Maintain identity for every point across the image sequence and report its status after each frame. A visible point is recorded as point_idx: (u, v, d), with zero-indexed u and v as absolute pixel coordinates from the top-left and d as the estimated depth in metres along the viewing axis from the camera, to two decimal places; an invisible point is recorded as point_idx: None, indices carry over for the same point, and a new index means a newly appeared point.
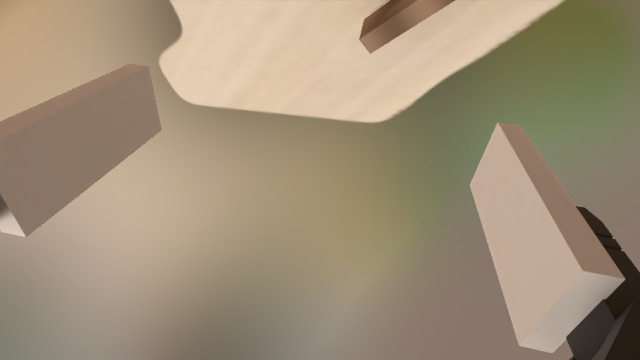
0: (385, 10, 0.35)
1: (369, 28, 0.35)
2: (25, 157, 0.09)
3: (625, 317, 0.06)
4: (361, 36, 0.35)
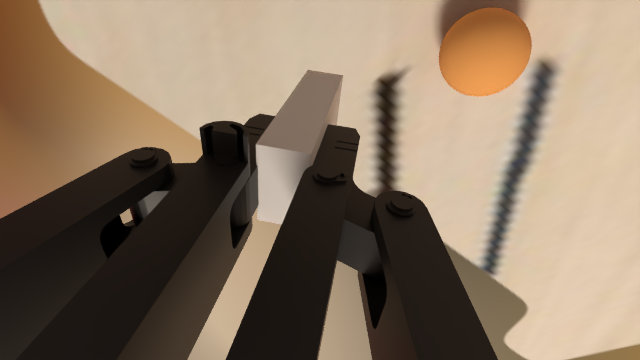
0: None
1: None
2: None
3: (297, 187, 0.08)
4: None
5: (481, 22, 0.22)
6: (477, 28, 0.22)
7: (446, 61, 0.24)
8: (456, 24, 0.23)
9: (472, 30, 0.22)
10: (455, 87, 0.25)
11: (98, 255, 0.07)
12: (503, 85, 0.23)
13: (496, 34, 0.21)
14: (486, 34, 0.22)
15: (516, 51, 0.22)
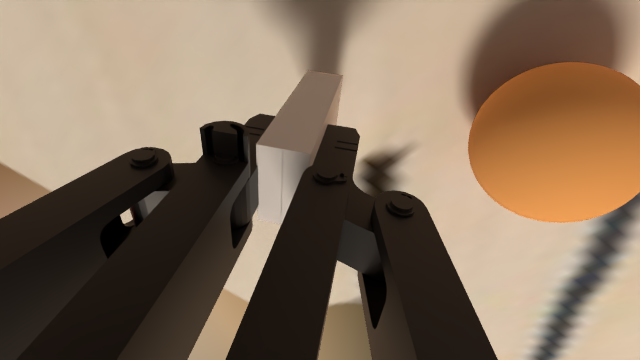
0: None
1: None
2: None
3: (297, 187, 0.08)
4: None
5: (566, 100, 0.10)
6: (557, 113, 0.10)
7: (486, 163, 0.12)
8: (506, 94, 0.12)
9: (546, 116, 0.11)
10: (500, 204, 0.13)
11: (98, 255, 0.07)
12: None
13: (602, 130, 0.10)
14: (579, 129, 0.10)
15: None
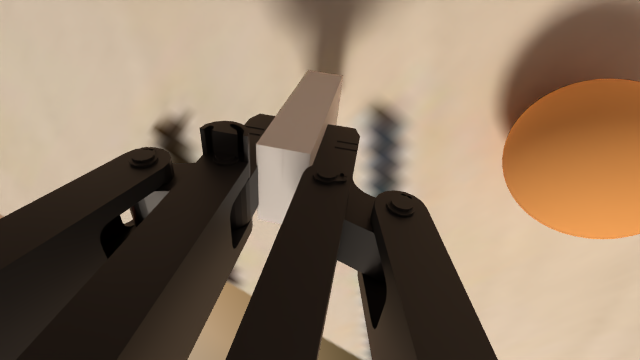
0: None
1: None
2: None
3: (297, 187, 0.08)
4: None
5: None
6: None
7: None
8: None
9: None
10: None
11: (98, 255, 0.07)
12: (510, 187, 0.14)
13: None
14: None
15: (521, 130, 0.13)
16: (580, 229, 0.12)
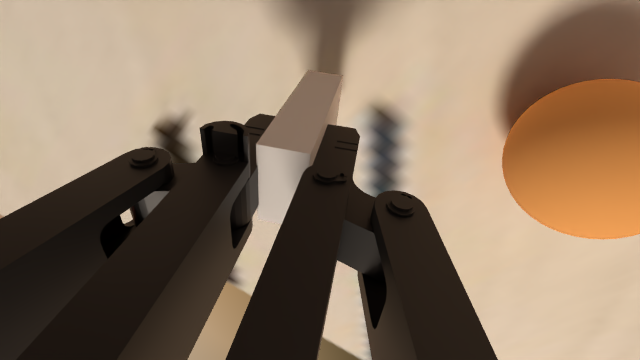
0: None
1: None
2: None
3: (297, 187, 0.08)
4: None
5: None
6: None
7: None
8: None
9: None
10: None
11: (98, 256, 0.07)
12: (510, 188, 0.14)
13: (537, 101, 0.13)
14: (540, 99, 0.14)
15: (521, 130, 0.13)
16: (580, 229, 0.12)
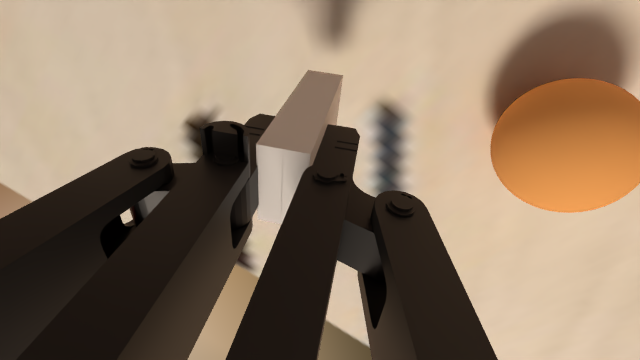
0: None
1: None
2: None
3: (297, 187, 0.08)
4: None
5: None
6: None
7: None
8: None
9: None
10: None
11: (98, 256, 0.07)
12: (496, 170, 0.16)
13: (519, 97, 0.16)
14: None
15: (505, 121, 0.15)
16: (553, 202, 0.14)
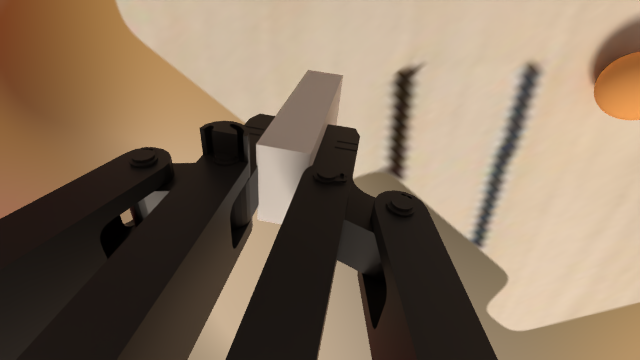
0: None
1: None
2: None
3: (297, 187, 0.08)
4: None
5: None
6: None
7: None
8: None
9: None
10: None
11: (98, 256, 0.07)
12: (600, 98, 0.31)
13: None
14: None
15: (609, 71, 0.30)
16: (633, 110, 0.29)
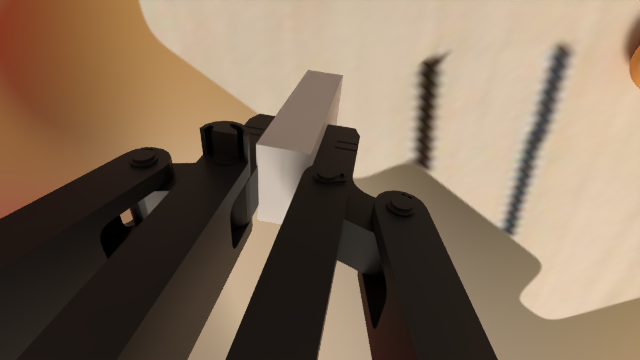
0: None
1: None
2: None
3: (297, 187, 0.08)
4: None
5: None
6: None
7: None
8: None
9: None
10: None
11: (98, 255, 0.07)
12: (637, 76, 0.30)
13: None
14: None
15: None
16: None
